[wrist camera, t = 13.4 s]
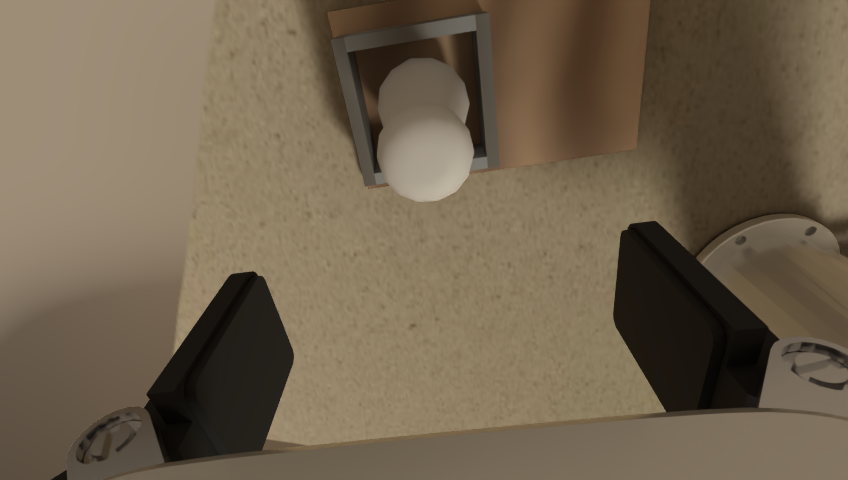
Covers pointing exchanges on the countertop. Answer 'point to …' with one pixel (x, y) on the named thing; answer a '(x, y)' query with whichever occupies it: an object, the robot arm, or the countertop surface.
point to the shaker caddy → (504, 73)
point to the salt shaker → (424, 130)
